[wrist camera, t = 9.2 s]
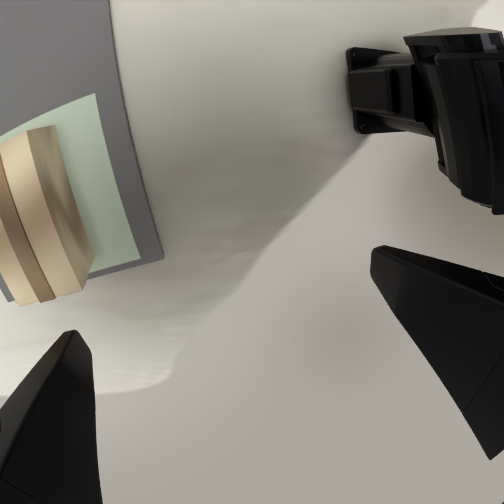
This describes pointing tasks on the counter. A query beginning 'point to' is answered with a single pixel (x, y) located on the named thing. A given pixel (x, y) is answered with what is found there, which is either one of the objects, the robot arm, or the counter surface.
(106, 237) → the mat
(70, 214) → the taped cardboard box
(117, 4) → the counter surface
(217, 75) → the counter surface
